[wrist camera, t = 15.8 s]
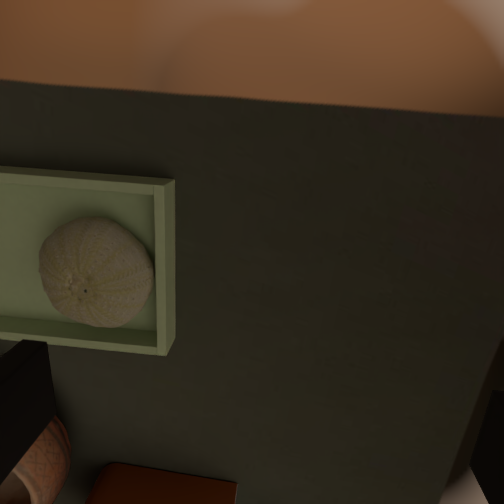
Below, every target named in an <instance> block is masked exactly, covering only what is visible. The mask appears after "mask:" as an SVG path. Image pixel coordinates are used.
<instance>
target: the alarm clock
mask: <svg viewBox="0 0 504 504" xmlns="http://www.w3.org/2000/svg"><path fill="white" fill-rule="evenodd" d="M237 488H238V484H237V483H232V482H226V481H220V480H214V479H209V478H203V477H197V476H191V475H185V474H179V473H174V472H168V471H162V470H156V469H150V468H145V467H139V466H133V465H127V464H121V463H112V464H109V465H107V466H106V467H104V468H103V469H102V471H101V473H100V475H99V477H98V479H97V481H96V482H95V484H94V486H93V488H92V490H91V492H90V494H89V496H88V498H87V500H86V502H85V504H235V503H236V495H237Z"/></svg>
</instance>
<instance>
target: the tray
mask: <svg viewBox="0 0 504 504" xmlns="http://www.w3.org/2000/svg"><path fill="white" fill-rule="evenodd" d="M94 216H96V217H99V216H101V217H103V218H107V219H112V220H113V221H115V222H116V223H117V224H119V225H120V226H122V227H124V228H125V229H128V231H129V232H131V233H132V235H133V236H134V237H135V238H136V239H137V240H139V241H140V242H141V244H143V245H144V248H145V249H146V251H147V252H148V255H149V256H150V258H151V259H152V261H153V264H154V269H155V272H156V273H155V278H154V283H153V290H152V293H151V294H150V296H149V297H148V299H147V301H146V303H145V305H144V308H142V311H140V312H139V313H138V314H137V315H136V316H134V317H133V318H132V319H131V320H130V321H129V322H128V323H126V324H123V325H121V326H118V327H116V328H106V327H95V326H94V327H93V326H91V325H87V324H85V323H80V322H75V321H74V320H73V319H71V318H69V317H67V316H65V315H63V314H61V313H59V312H58V311H57V310H56V309H55V308H54V307H53V306H52V303H51V302H50V300H49V298H48V296H47V294H46V292H44V290H43V289H44V288H43V285H42V279H41V276H40V273H39V272H38V271H39V250H40V249H41V246H42V243H43V242H44V240H45V239H46V238H47V237H48V236H50V235H51V234H52V233H53V232H54V231H55V229H57V227H59V226H61V225H64V224H66V223H68V222H70V221H72V220H74V219H77V218H82V217H83V218H84V217H94ZM0 339H4V340H13V341H21V340H22V339H27V340H36V341H45V342H47V344H52V345H62V346H72V347H82V348H92V349H101V350H111V351H121V352H131V353H140V354H150V355H160V356H167V354H168V351H169V349H170V347H171V345H172V343H173V341H174V339H175V179H167V178H155V177H142V176H129V175H116V174H103V173H90V172H77V171H64V170H51V169H38V168H25V167H12V166H0Z"/></svg>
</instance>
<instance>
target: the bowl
mask: <svg viewBox="0 0 504 504" xmlns="http://www.w3.org/2000/svg"><path fill="white" fill-rule="evenodd" d="M70 458H71V445H70V442H69V440H68V435H67V431H66V429H65V427H64V426H63V424H62V423H61V422H60V420H59V419H58V418H57V416H56V415H55V417H54V418H53V419H52V421H51V422H50V423H49V424H48V426H47V427H46V428H45V429H44V431H43V432H42V433H41V434H40V436H39V437H38V438H37V440H36V441H35V442H34V443H33V445H32V446H31V447H30V448H29V450H28V451H27V452H26V453H25V455H24V456H23V457H22V459H21V460H20V461H19V462H18V464H17V465H16V466H15V467H14V469H13V470H12V471H11V472H10V474H9V475H8V476H7V478H6V479H5V480H4V481H3V483H2V484H1V485H0V504H52V503H53V502H54V500H55V499H56V497H57V495H58V494H59V492H60V490H61V489H62V487H63V485H64V483H65V481H66V479H67V477H68V473H69V470H70V465H71V464H70Z"/></svg>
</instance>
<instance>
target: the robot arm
mask: <svg viewBox="0 0 504 504" xmlns="http://www.w3.org/2000/svg"><path fill="white" fill-rule="evenodd" d="M56 414H57V412H56V405H55V397H54V390H53V383H52V376H51V369H50V361H49V354H48V347H47V342H45V341H36V340H27V339H22V340H21V341H20V342H19V343H18V344H16V345H15V346H14V347H13V348H12V349H10V350H9V351H8V352H7V353H6V354H4V355H3V356H2V357H1V358H0V485H1V484H2V483H3V481H4V480H5V479H6V478H7V476H8V475H9V474H10V472H11V471H12V470H13V469H14V467H15V466H16V465H17V464H18V462H19V461H20V460H21V459H22V457H23V456H24V455H25V453H26V452H27V451H28V450H29V448H30V447H31V446H32V445H33V443H34V442H35V441H36V440H37V438H38V437H39V436H40V434H41V433H42V432H43V431H44V429H45V428H46V427H47V426H48V424H49V423H50V422H51V421H52V419H53V418H54V417H55V415H56ZM469 465H470V467H471V469H472V471H473V473H474V475H475V477H476V479H477V481H478V483H479V485H480V487H481V489H482V491H483V493H484V495H485V497H486V499H487V501H488V503H489V504H504V391H498V390H493V391H492V394H491V397H490V401H489V404H488V407H487V410H486V413H485V416H484V420H483V423H482V426H481V429H480V432H479V435H478V438H477V441H476V444H475V448H474V451H473V454H472V457H471V460H470V464H469Z"/></svg>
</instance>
